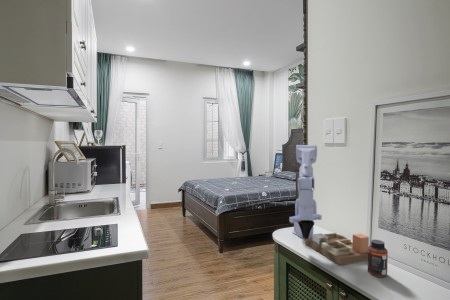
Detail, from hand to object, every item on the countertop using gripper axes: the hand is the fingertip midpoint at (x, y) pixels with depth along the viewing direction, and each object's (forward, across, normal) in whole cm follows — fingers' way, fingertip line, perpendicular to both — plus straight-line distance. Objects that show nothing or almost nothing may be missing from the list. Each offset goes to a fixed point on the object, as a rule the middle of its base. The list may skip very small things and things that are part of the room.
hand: (305, 237), depth 109 cm
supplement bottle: (+6, +12, -24) cm, 27 cm away
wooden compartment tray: (+6, +13, -4) cm, 14 cm away
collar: (+3, +9, -8) cm, 12 cm away
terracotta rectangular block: (+3, +17, -12) cm, 21 cm away
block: (+3, +8, 0) cm, 8 cm away
